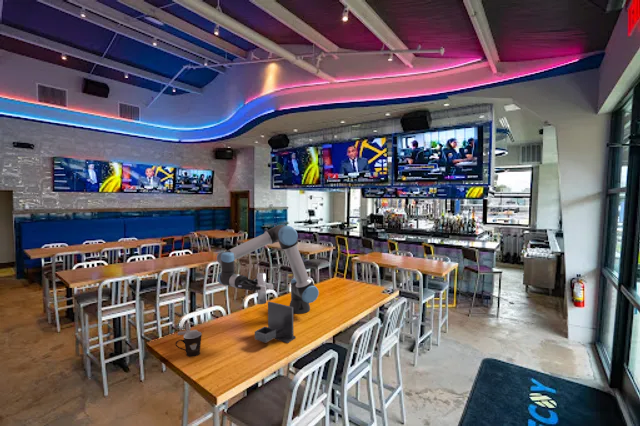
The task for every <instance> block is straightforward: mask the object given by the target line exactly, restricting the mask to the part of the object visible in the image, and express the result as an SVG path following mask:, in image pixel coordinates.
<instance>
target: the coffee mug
mask: <svg viewBox="0 0 640 426" xmlns="http://www.w3.org/2000/svg"><path fill="white" fill-rule="evenodd" d="M202 337H203V335H202V332H201V331H198V330H197V331H193V332H189V333H186V334H185V335H183V339H178V340H176V342H175V347H176V348H177V349H178V350H182V351H184V352H185V355H186V357H188V358H194V357H198V356H199V355H200V353H201V346H202V345H201V344H202ZM178 342H183V344H184V347H179V345H177V344H178Z"/></svg>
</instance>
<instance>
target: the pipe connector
mask: <svg viewBox="0 0 640 426" xmlns="http://www.w3.org/2000/svg"><path fill="white" fill-rule="evenodd" d="M193 331H198V329H191V327H190V323H189V322H187V323H185V330H184V331H177V336H184V335H185V334H186V333H189V332H193Z"/></svg>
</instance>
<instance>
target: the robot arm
mask: <svg viewBox="0 0 640 426" xmlns="http://www.w3.org/2000/svg"><path fill="white" fill-rule="evenodd" d="M275 243H278V244H279V246H280V249H281V250H283V251H284V253H285V255H286V258H287V260H288V263H289V266H290V269H291V272H292V274H293V276H294V277H293V278H292V279H291V280H290V298H291V299H290V302H289V305H288V306H290V307H293V314H297V315H299V314H301V315H302V314H306V313H308V312H310V311H311V306H310V305H311V303H314V302H315V301H316V300H317V299H318V297H319V295H320V293H319V292H320V291H319V289H318V288H317V286H315V284H314V281H313V279H312V278H311V277H309V274H308V272H307V269H306V266H305V263H304V261H303V258H302V255H301V252H300V250H299V248H298V245H299V241H298V232H297V230H296V229H295V228H294V227H292V226H290V225H284V224H280V225H279V224H278V225H275V226H274V227H271V228H270V229H268V230H265V231H264V233H263V234H260V235H258V236H255V237H254V238H251V239H250V240H247V241H245V242H242V243H241V244H239V245H236V246H235V247H232V248H229V249H228V250H226V251H221V252H219V253H218V254H217V256H216V262H217V263H218V264H219V265H220V267H221V269H220V271H221V272H220V273H219V274H218V276H217V282H218V283H219V284H220V285H223V286H227V287H231V288H235V289H240V290H247V291H253V292H256V291H258V290H259V291H264V292H266V293H267V289H269V290H273V289H274V284H273V283H268V282H266V286H262V285H258V278H254V279H251V278H249V277H247V275H243V274H239V273H238V274H237V273H235V261H236V260H238V259H240V258H242V257H244V256H246V255H249V254H251V253H253V252H255V251H257V250H259V249H260V248H264V247H265V246H267V245H273V244H275Z"/></svg>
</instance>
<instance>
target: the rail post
mask: <svg viewBox="0 0 640 426" xmlns="http://www.w3.org/2000/svg"><path fill="white" fill-rule="evenodd" d="M256 275H257V279H258V285H262V286H266V283H267V273H266V272H258V273H257V274H256ZM266 303H267V291H266V292H264V291H259V290H257V304H258V305H265V304H266Z"/></svg>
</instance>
